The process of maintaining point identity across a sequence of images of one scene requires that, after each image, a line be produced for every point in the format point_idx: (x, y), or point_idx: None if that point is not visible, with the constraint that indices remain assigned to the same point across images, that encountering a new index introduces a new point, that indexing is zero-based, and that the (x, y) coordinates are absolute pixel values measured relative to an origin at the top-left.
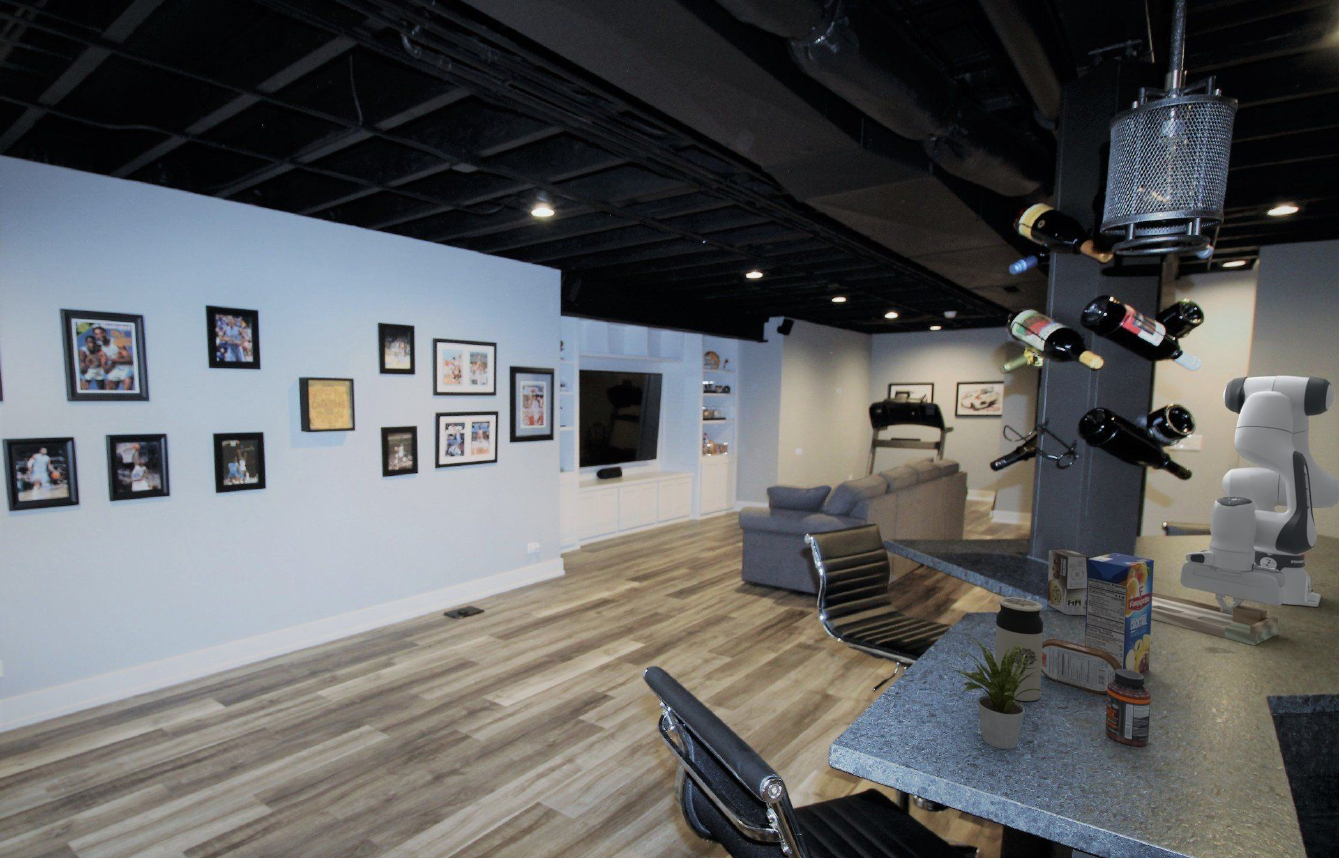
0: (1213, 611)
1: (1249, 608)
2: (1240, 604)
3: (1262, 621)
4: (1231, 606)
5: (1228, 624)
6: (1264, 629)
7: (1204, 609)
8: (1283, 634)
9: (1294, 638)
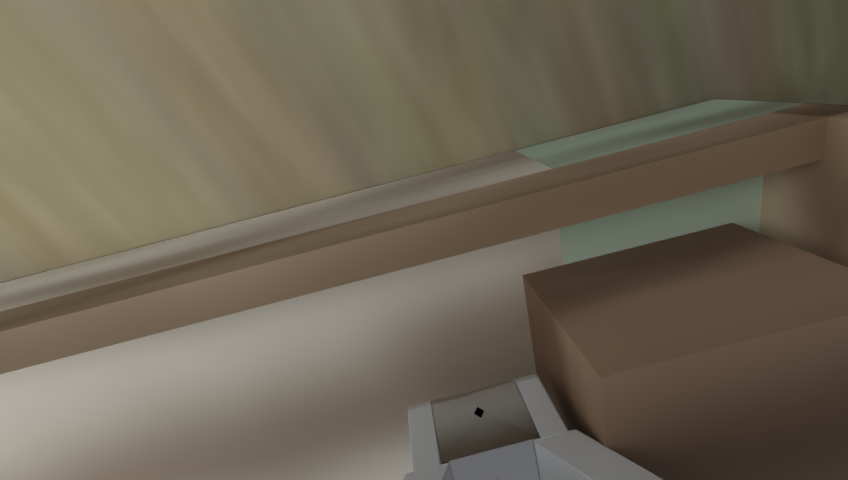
0: (267, 321)
1: (732, 431)
2: (637, 469)
3: None
4: (512, 453)
5: None
6: None
7: (185, 346)
8: (743, 32)
9: (825, 62)
